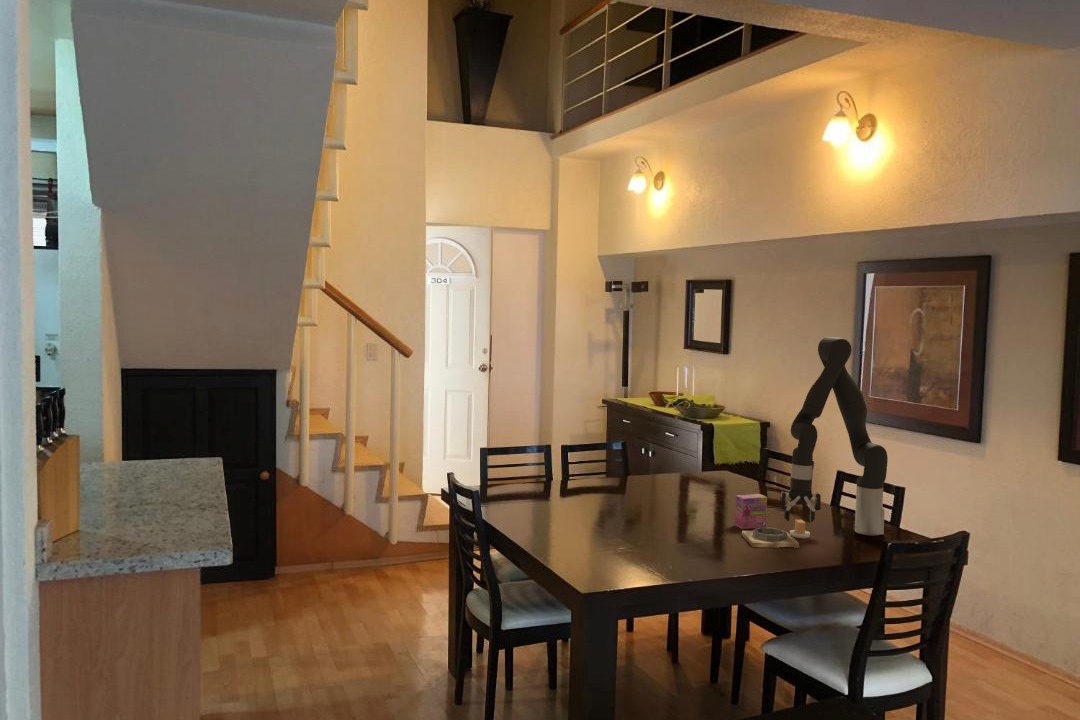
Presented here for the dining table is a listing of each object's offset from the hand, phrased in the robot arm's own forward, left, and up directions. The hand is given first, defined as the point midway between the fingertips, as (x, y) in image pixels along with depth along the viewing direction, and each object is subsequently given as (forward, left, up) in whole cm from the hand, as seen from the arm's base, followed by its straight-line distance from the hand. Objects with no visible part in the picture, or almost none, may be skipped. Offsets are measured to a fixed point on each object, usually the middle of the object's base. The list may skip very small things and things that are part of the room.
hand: (799, 521), depth 312 cm
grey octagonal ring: (+13, +8, -4) cm, 15 cm away
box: (+15, -12, -6) cm, 20 cm away
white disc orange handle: (0, 0, -6) cm, 6 cm away
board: (+13, +8, -5) cm, 16 cm away
